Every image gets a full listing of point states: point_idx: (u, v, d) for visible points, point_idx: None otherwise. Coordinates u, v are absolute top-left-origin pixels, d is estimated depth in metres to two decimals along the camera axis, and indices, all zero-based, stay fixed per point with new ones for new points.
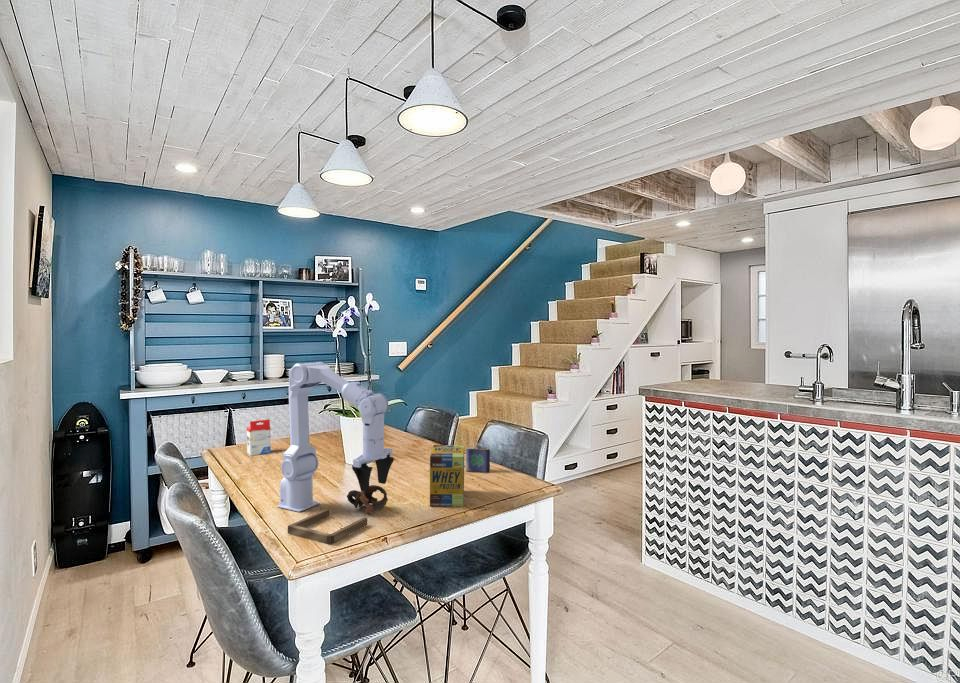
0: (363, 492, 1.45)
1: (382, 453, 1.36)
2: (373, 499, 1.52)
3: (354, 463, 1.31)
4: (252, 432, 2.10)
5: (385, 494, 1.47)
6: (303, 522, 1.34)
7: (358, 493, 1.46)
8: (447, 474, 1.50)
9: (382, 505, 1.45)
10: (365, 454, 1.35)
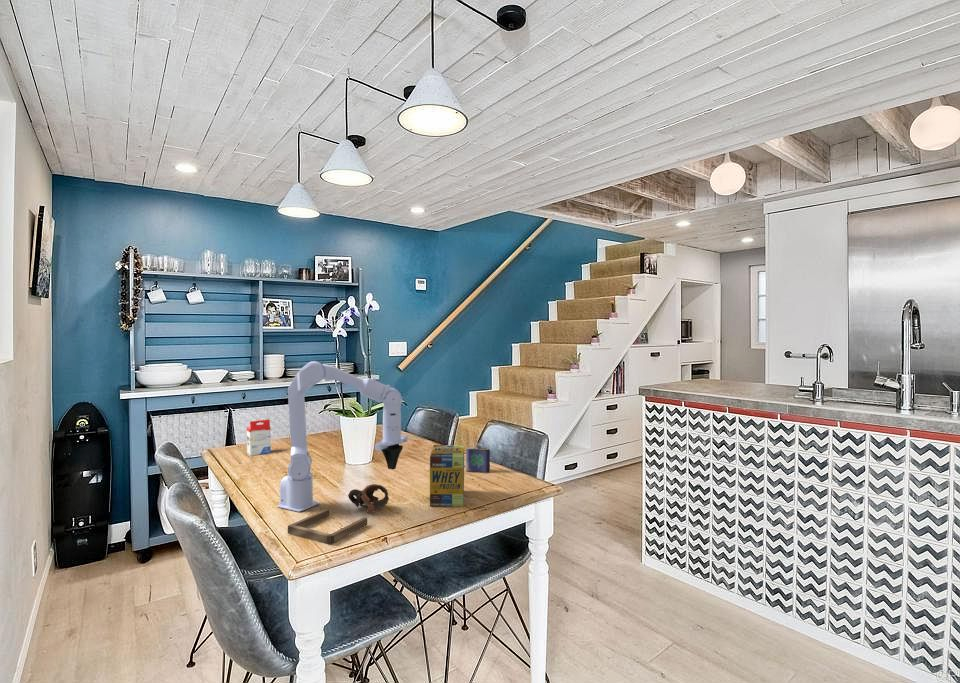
0: (364, 491, 1.46)
1: (399, 439, 1.57)
2: (374, 498, 1.53)
3: (376, 447, 1.52)
4: (252, 432, 2.10)
5: (386, 493, 1.48)
6: (303, 522, 1.34)
7: (359, 492, 1.47)
8: (447, 474, 1.50)
9: (383, 504, 1.46)
10: (385, 440, 1.56)
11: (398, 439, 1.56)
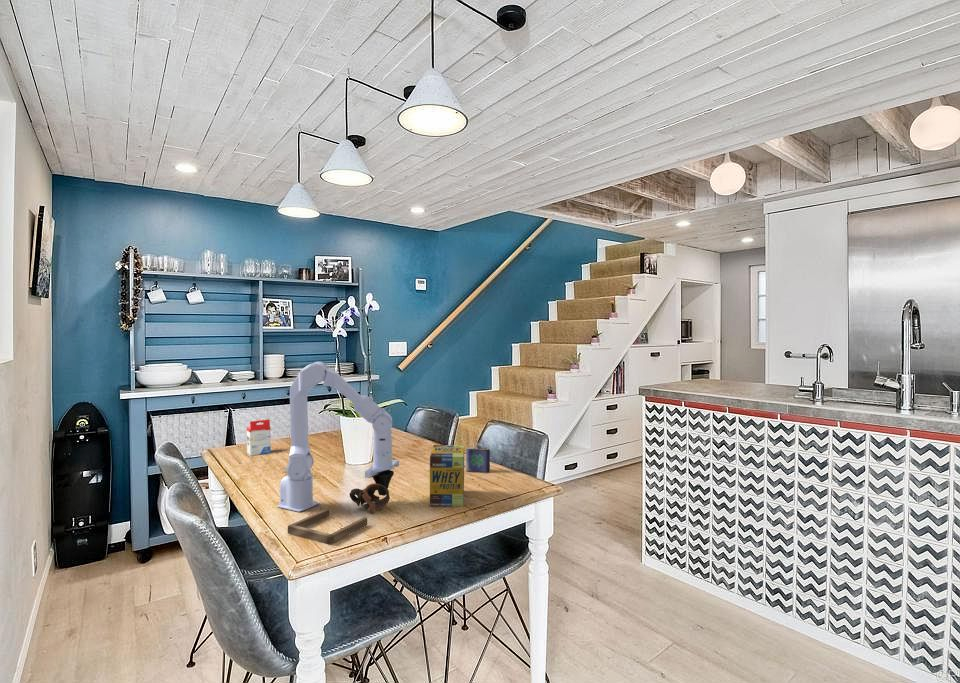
0: (366, 490, 1.46)
1: (390, 464, 1.53)
2: (375, 497, 1.54)
3: (366, 474, 1.48)
4: (252, 432, 2.10)
5: (387, 492, 1.48)
6: (303, 522, 1.34)
7: (361, 491, 1.48)
8: (447, 474, 1.50)
9: (384, 503, 1.46)
10: (375, 465, 1.52)
11: (389, 465, 1.52)
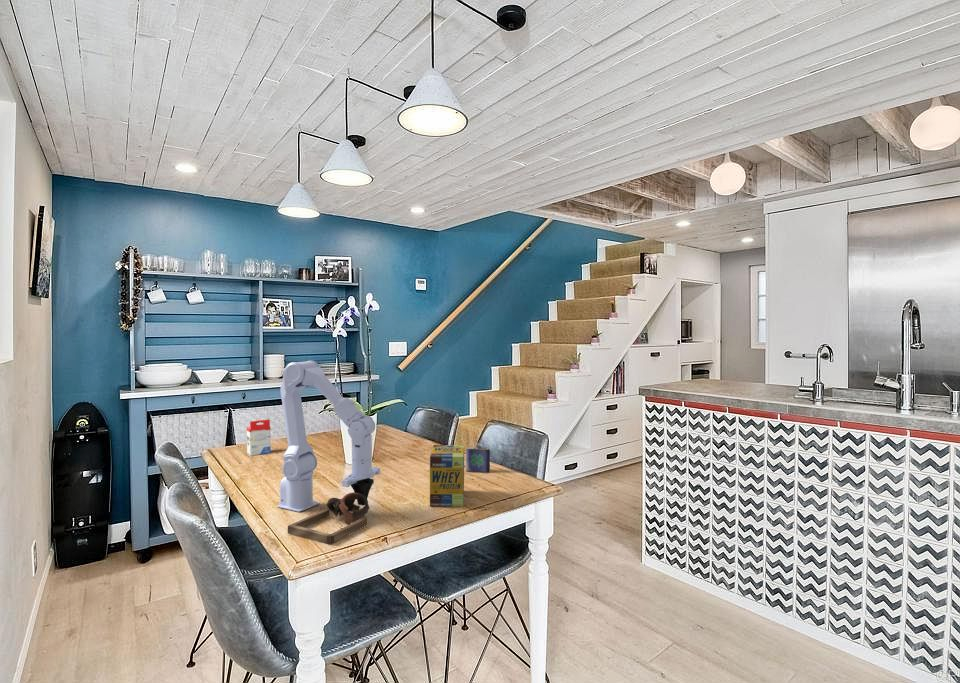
0: (343, 500, 1.38)
1: (370, 473, 1.44)
2: (355, 507, 1.45)
3: (343, 483, 1.39)
4: (252, 432, 2.10)
5: (366, 502, 1.40)
6: (303, 522, 1.34)
7: (338, 501, 1.39)
8: (447, 474, 1.50)
9: (363, 514, 1.38)
10: (354, 474, 1.43)
11: (368, 473, 1.44)
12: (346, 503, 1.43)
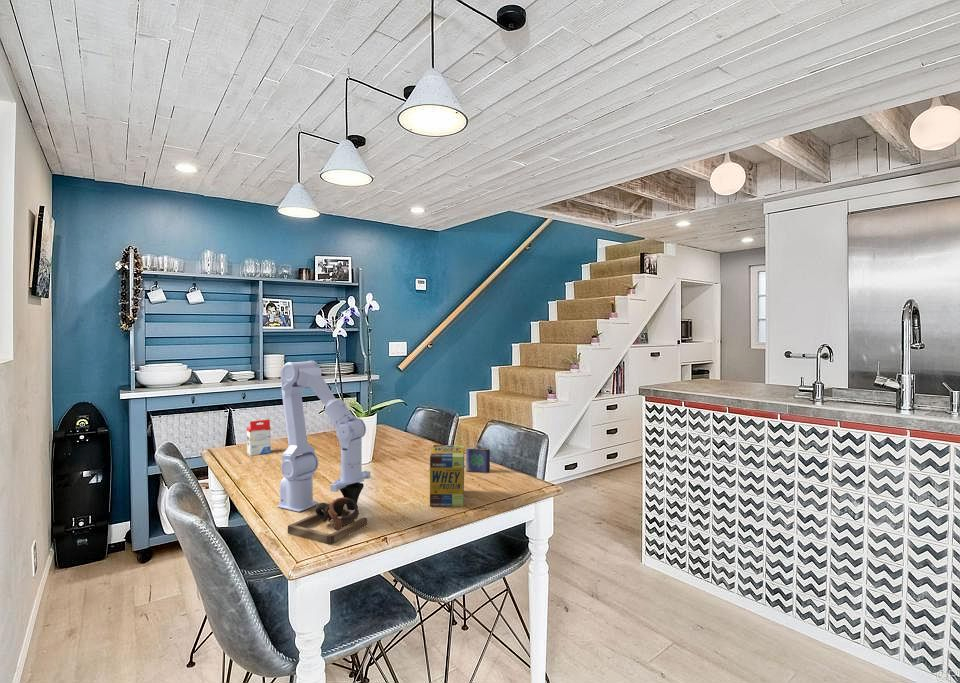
0: (332, 505, 1.34)
1: (359, 477, 1.40)
2: (344, 512, 1.41)
3: (331, 487, 1.35)
4: (252, 432, 2.10)
5: (356, 507, 1.36)
6: (303, 522, 1.34)
7: (327, 506, 1.35)
8: (447, 474, 1.50)
9: (352, 519, 1.34)
10: (343, 478, 1.39)
11: (358, 477, 1.40)
12: (335, 508, 1.39)
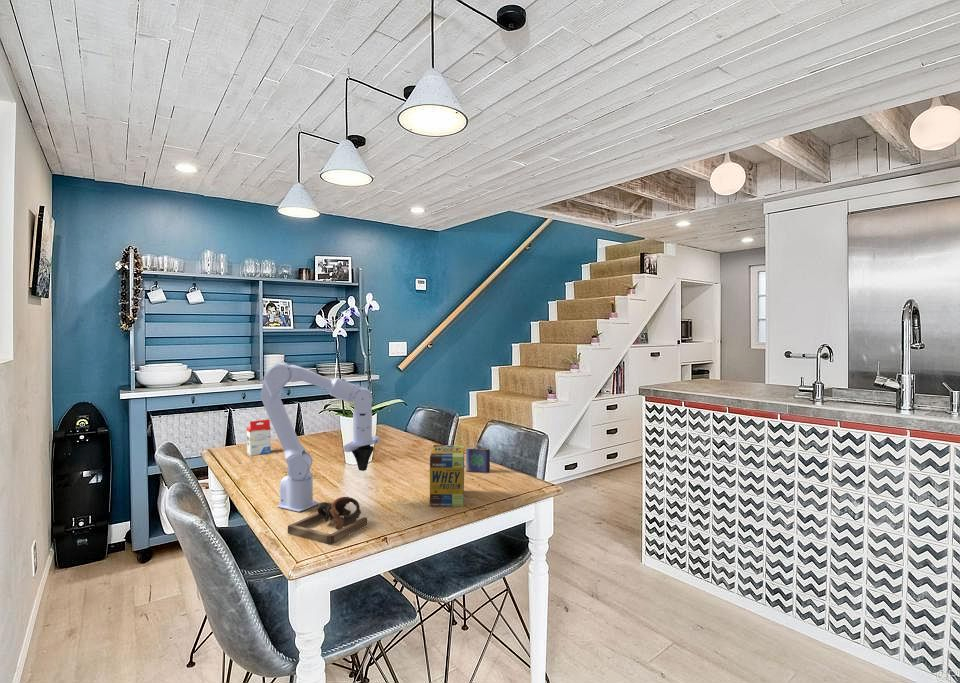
0: (334, 505, 1.34)
1: (370, 440, 1.53)
2: (346, 511, 1.42)
3: (345, 448, 1.48)
4: (252, 432, 2.10)
5: (358, 507, 1.36)
6: (303, 522, 1.34)
7: (329, 505, 1.36)
8: (447, 474, 1.50)
9: (354, 519, 1.34)
10: (355, 441, 1.52)
11: (369, 440, 1.53)
12: (337, 508, 1.40)
